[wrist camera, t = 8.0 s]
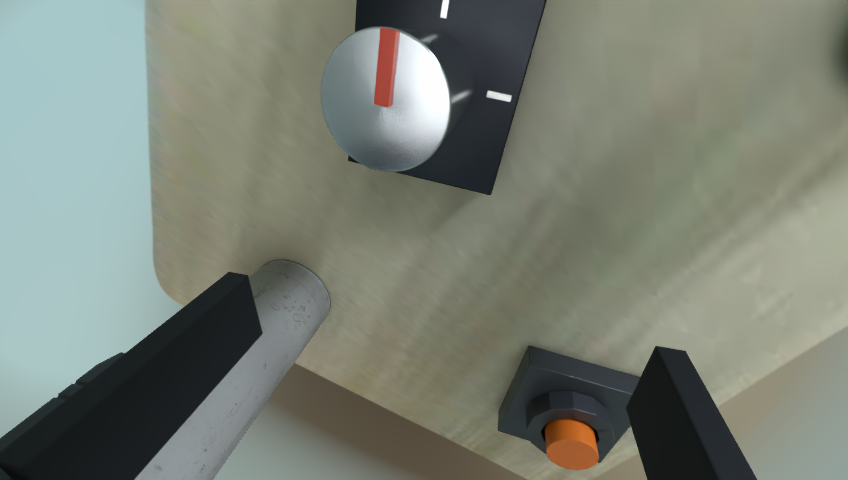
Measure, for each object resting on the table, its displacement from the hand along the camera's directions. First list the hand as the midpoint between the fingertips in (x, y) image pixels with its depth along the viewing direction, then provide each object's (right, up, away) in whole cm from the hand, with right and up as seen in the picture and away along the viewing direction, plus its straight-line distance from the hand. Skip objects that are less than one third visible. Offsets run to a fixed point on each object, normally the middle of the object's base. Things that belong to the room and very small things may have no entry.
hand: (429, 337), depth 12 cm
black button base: (+13, -12, +22) cm, 28 cm away
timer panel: (+1, +14, +11) cm, 18 cm away
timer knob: (0, +12, +9) cm, 15 cm away
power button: (+12, -13, +19) cm, 26 cm away
